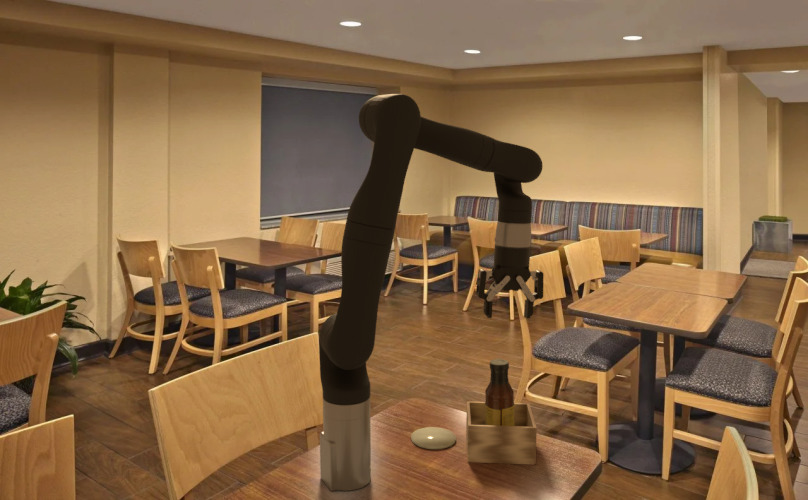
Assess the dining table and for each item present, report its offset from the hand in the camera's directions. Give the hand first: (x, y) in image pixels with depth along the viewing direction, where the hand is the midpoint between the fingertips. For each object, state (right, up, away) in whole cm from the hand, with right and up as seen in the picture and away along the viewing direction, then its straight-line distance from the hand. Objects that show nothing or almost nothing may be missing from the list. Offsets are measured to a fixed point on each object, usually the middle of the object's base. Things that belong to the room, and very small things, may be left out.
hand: (508, 317), depth 140 cm
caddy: (-2, -29, +1) cm, 29 cm away
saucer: (-16, -28, +6) cm, 33 cm away
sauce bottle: (-2, -29, +1) cm, 29 cm away
